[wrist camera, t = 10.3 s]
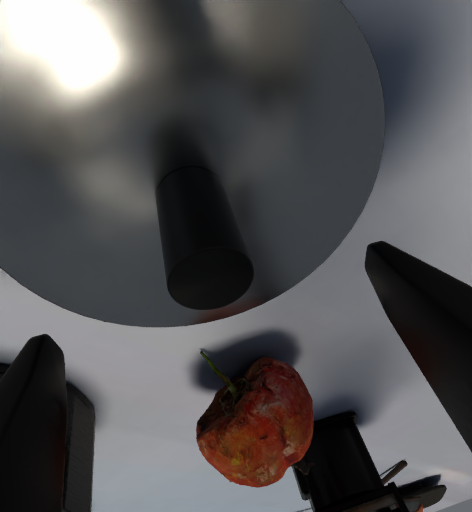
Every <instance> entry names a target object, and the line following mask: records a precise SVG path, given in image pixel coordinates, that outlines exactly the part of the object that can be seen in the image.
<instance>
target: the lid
mask: <svg viewBox="0 0 472 512" xmlns="http://www.w3.org/2000/svg"><path fill="white" fill-rule="evenodd" d="M384 133H385V111H384V97H383V92H382V87H381V82H380V78H379V73H378V69H377V66H376V64H375V61H374V58H373V55H372V53H371V50H370V47H369V45H368V42H367V41H366V39H365V37H364V35H363V34H362V32H361V30H360V28H359V26H358V25H357V23H356V21H355V19H354V18H353V16H352V15H351V13H350V12H349V11H348V10H347V8H346V7H345V6H344V5H343V3H342V2H341V1H340V0H0V268H1V269H2V270H4V271H5V272H6V273H7V274H9V275H10V276H11V277H12V278H14V279H15V280H16V281H17V282H19V283H20V284H21V285H23V286H24V287H26V288H27V289H29V290H30V291H32V292H34V293H35V294H37V295H38V296H40V297H41V298H43V299H45V300H48V301H50V302H52V303H54V304H56V305H58V306H60V307H62V308H64V309H67V310H69V311H72V312H75V313H77V314H80V315H83V316H86V317H90V318H93V319H97V320H101V321H104V322H110V323H116V324H121V325H128V326H139V327H177V326H188V325H195V324H201V323H207V322H211V321H215V320H219V319H224V318H227V317H230V316H233V315H236V314H239V313H242V312H245V311H247V310H250V309H252V308H255V307H257V306H259V305H262V304H264V303H266V302H267V301H269V300H271V299H273V298H275V297H277V296H279V295H281V294H282V293H284V292H285V291H287V290H289V289H290V288H292V287H293V286H295V285H296V284H298V283H299V282H300V281H302V280H303V279H304V278H306V277H307V276H308V275H309V274H311V273H312V272H313V271H314V270H315V269H316V268H317V267H319V266H320V265H321V264H322V263H323V262H324V261H325V260H326V259H327V258H328V257H329V256H330V255H331V254H332V253H333V252H334V250H335V249H336V248H337V247H338V246H339V245H340V244H341V242H342V241H343V240H344V238H345V237H346V236H347V234H348V233H349V232H350V230H351V229H352V227H353V226H354V224H355V222H356V221H357V219H358V217H359V216H360V214H361V212H362V211H363V209H364V207H365V204H366V202H367V200H368V198H369V196H370V194H371V192H372V189H373V186H374V183H375V180H376V177H377V174H378V171H379V166H380V162H381V157H382V152H383V147H384Z"/></svg>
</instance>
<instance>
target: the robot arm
mask: <svg viewBox="0 0 472 512" xmlns="http://www.w3.org/2000/svg"><path fill="white" fill-rule="evenodd" d="M365 270H366V272H367V275H368V277H369V279H370V281H371V283H372V285H373V287H374V289H375V292H376V294H377V296H378V298H379V300H380V302H381V304H382V306H383V309H384V311H385V313H386V315H387V317H388V318H389V320H390V322H391V323H392V325H393V327H394V328H395V330H396V331H397V333H398V335H399V336H400V338H401V339H402V341H403V343H404V344H405V346H406V347H407V349H408V351H409V352H410V354H411V355H412V357H413V359H414V360H415V362H416V363H417V365H418V367H419V368H420V370H421V372H422V373H423V375H424V376H425V378H426V380H427V381H428V383H429V384H430V386H431V388H432V389H433V391H434V392H435V394H436V396H437V397H438V399H439V400H440V402H441V404H442V405H443V407H444V408H445V410H446V412H447V413H448V415H449V416H450V418H451V420H452V421H453V423H454V424H455V426H456V428H457V429H458V431H459V432H460V434H461V436H462V437H463V439H464V440H465V442H466V444H467V445H468V447H469V448H470V450H471V452H472V287H471V286H470V285H468V284H466V283H464V282H462V281H460V280H458V279H456V278H454V277H452V276H450V275H448V274H446V273H444V272H442V271H441V270H439V269H437V268H435V267H433V266H431V265H429V264H427V263H425V262H423V261H421V260H419V259H417V258H415V257H414V256H412V255H410V254H408V253H406V252H404V251H402V250H400V249H398V248H396V247H394V246H392V245H390V244H388V243H386V242H384V241H378V242H375V243H371V244H369V245H368V246H367V251H366V258H365ZM356 422H357V415H356V412H349V413H346V414H342V415H339V416H336V417H333V418H329V419H326V420H323V421H320V422H316V423H314V424H313V435H312V440H311V443H310V445H309V448H308V449H307V451H306V453H305V455H304V456H303V458H302V459H303V461H304V462H305V463H306V464H309V463H314V465H313V466H312V467H311V468H310V470H309V472H308V474H306V475H303V473H302V472H301V471H300V470H299V469H298V468H296V467H292V468H293V472H294V475H295V478H296V481H297V484H298V488H299V491H300V494H301V497H302V499H303V500H308V499H309V501H310V504H311V507H312V510H313V512H370V511H373V510H376V509H379V508H381V507H384V506H387V505H390V504H392V503H394V504H395V506H396V508H395V509H392V510H391V509H390V507H387V508H384V509H382V510H379V511H376V512H409V510H408V508H407V506H406V504H405V502H404V500H403V498H402V496H401V494H400V492H399V490H398V488H397V487H396V485H395V483H394V482H391V483H388V485H387V486H384V484H383V482H382V480H381V478H380V476H379V474H378V471H377V469H376V467H375V465H374V463H373V461H372V458H371V456H370V454H369V452H368V450H367V448H366V445H365V443H364V441H363V439H362V437H361V435H360V432H359V430H358V428H357V426H356ZM66 429H67V393H66V377H65V362H64V354H63V351H62V350H61V348H60V347H59V346H58V345H57V344H56V343H55V341H54V340H53V339H52V338H51V337H50V336H49V335H47V334H42V335H39V336H35V337H32V338H30V339H29V340H28V342H27V343H26V344H25V346H24V347H23V349H22V350H21V351H20V353H19V354H18V356H17V357H16V359H15V360H14V361H13V363H12V364H11V366H10V367H9V369H8V370H7V371H6V373H5V374H4V376H3V377H2V379H1V380H0V512H62V501H63V483H64V465H65V447H66Z"/></svg>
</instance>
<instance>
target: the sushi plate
mask: <svg viewBox="0 0 472 512" xmlns="http://www.w3.org/2000/svg"><path fill="white" fill-rule="evenodd" d="M406 466H407V462H406V461H402V462H401V463H399V464H398V465H397V466H396V467H395V468H394V469H393V470H392V471H390V472H389V473H388V474H387V475H386V476H385V477H384V478H383V479H382V482H383V484H385V483H386V482H388V481H389V480H390V479H391V478H392V477H394V476H395V475H396V474H397V473H398V472H400V471H401V470H402V469H403V468H404V467H406ZM446 489H447V488H446V486H445V485H437V486H431V487H423V485H416V486H412V487H409V488H406V489H403V490H400V491H399V492H400V494H401V496H402V498H403V500H404V502H405V504H406V506H407V508H408V510H409V512H422V511H423V508H426V507H429V506H431V505H433V504H435V503H437V502H439V501H440V500H441V498H442V497H443V495H444V494H445V492H446ZM387 507H390V509H391V510H392V509H395V508H396V506H395V504H394V503H392V504H390V505H387V506H384V507H381V508H379V509H376V510H373V511H370V512H376V511H379V510H382V509H384V508H387Z"/></svg>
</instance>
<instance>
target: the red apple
mask: <svg viewBox="0 0 472 512" xmlns="http://www.w3.org/2000/svg"><path fill="white" fill-rule="evenodd" d="M200 354H201V355H202V356H203V357H204V358H205V359H206V360H207V362H208V363H209V365H210V366H211V368H212V369H213V371H214V372H215V374H216V375H218V376H219V377H220V378H221V379H222V380H223V381H224V383H225V384H226V385H225V386H224V387H223V388H221V389H220V390H219V391H218V392H217V393H216V394H215V397H214V399H213V402H212V403H211V404H210V406H209V408H208V409H207V410H206V412H205V413H204V414H203V415H202V416H201V417H200V419H199V420H198V422H197V429H196V432H197V437H196V439H197V443H198V446H199V450H200V451H201V453H202V455H203V456H204V457H205V459H206V460H207V461H208V462H209V463H210V464H211V465H212V466H213V467H214V468H215V469H217V470H218V471H219V472H220V473H221V474H223V475H224V477H225V478H227V479H228V480H229V481H230V482H234V483H236V484H239V485H246V486H251V487H263V486H268V485H270V484H273V483H275V482H277V481H279V480H280V479H281V478H282V477H283V475H284V473H285V471H286V470H287V468H288V467H290V466H291V467H296V468H298V469H299V470H300V471H301V472H302V473H303V475H306V474H308V472H309V470H310V468H311V467H312V466H313V465H314V463H309V464H306V463H305V462H304V461H303V459H302V458H303V456H304V455H305V453H306V451H307V449H308V448H309V445H310V443H311V440H312V435H313V424H314V422H313V403H312V398H311V396H310V394H309V392H308V390H307V388H306V386H305V384H304V382H303V380H302V379H301V377H300V375H299V373H298V372H297V371H296V370H295V369H294V368H293V367H291V366H290V365H289V364H287V363H283V362H281V361H278V360H275V359H272V358H269V357H261V358H259V359H257V360H256V361H255V362H254V363H253V364H252V366H251V367H250V368H249V369H248V371H247V372H246V373H245V374H244V375H242V376H239V377H237V378H233V379H232V380H231V381H230V380H229V379H228V378H227V376H226V375H225V374H224V373H222V372H221V371H220V370H219V369H218V368H217V367H216V366H215V365H214V364H213V363H212V362H211V361H210V360H209V358H208V357H207V356H206V355H205V354H204V353H203V352H202V351H201V352H200Z"/></svg>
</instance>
